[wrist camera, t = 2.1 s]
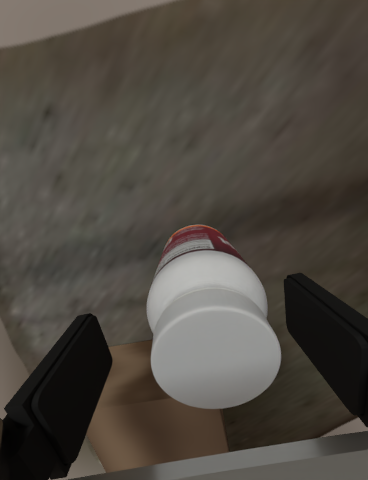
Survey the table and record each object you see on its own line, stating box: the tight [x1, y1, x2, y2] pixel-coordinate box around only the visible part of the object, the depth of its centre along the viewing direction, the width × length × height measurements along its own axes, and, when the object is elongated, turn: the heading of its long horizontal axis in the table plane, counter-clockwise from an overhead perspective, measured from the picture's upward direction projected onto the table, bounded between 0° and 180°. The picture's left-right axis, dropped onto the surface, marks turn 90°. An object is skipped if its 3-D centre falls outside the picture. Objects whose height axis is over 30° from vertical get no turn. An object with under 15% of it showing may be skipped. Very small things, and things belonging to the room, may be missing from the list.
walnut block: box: [86, 340, 230, 473], centre depth 18 cm, size 11×11×6 cm
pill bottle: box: [147, 225, 281, 409], centre depth 12 cm, size 6×6×11 cm
